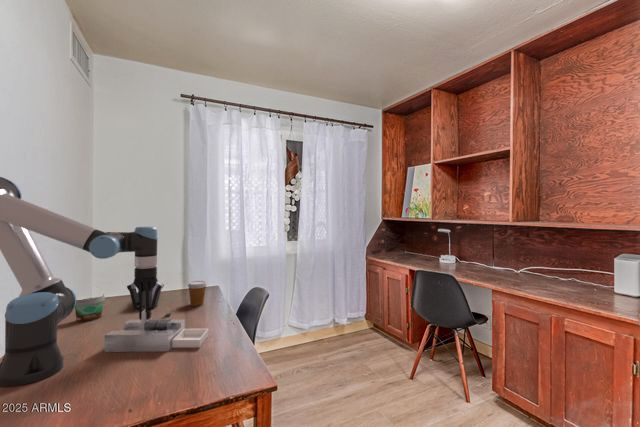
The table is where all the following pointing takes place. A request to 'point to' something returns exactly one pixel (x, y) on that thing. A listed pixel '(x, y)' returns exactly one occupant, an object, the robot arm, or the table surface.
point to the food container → (89, 309)
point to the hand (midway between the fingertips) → (145, 327)
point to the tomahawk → (165, 316)
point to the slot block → (142, 337)
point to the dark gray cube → (150, 325)
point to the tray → (190, 338)
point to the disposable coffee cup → (197, 292)
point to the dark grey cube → (163, 325)
